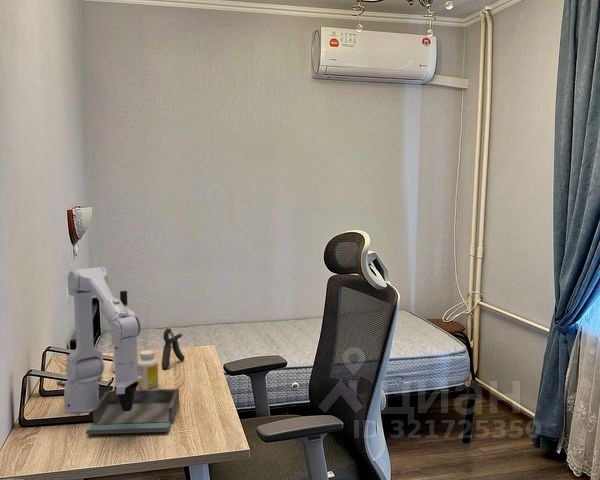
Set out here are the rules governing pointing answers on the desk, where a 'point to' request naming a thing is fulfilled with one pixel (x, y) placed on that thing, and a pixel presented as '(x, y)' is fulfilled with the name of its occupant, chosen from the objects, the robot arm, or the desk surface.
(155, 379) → the supplement bottle
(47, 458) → the desk surface
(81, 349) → the robot arm
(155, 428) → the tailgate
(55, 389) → the desk surface
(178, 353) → the hand grip strengthener
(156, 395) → the box
